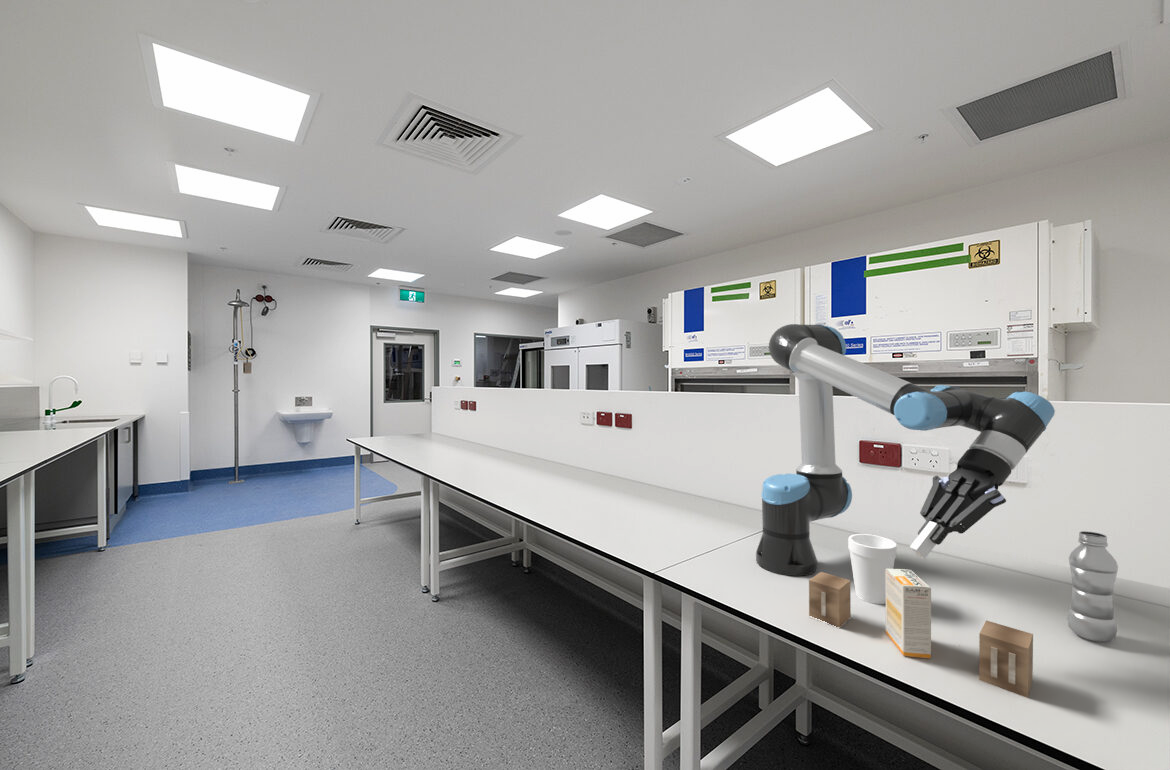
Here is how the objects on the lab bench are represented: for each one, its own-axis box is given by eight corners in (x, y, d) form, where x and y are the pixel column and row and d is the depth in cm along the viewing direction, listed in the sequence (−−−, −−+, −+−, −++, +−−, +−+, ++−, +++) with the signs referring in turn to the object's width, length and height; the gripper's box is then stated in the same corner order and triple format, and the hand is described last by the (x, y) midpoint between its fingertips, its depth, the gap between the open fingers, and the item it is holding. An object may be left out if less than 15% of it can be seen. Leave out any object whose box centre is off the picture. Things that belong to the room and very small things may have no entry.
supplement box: (932, 659, 85) (933, 587, 85) (902, 656, 86) (902, 585, 86) (911, 634, 93) (911, 568, 93) (884, 632, 94) (884, 567, 94)
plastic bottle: (1057, 629, 94) (1058, 529, 93) (1088, 627, 94) (1089, 528, 94) (1094, 648, 87) (1096, 541, 87) (1127, 646, 88) (1129, 539, 87)
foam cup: (880, 611, 102) (880, 551, 102) (839, 593, 110) (839, 538, 110) (905, 600, 106) (905, 543, 106) (864, 584, 115) (864, 531, 114)
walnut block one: (808, 617, 100) (808, 580, 100) (821, 607, 104) (820, 571, 104) (838, 628, 96) (838, 589, 95) (850, 617, 100) (850, 580, 100)
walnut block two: (978, 681, 79) (979, 633, 79) (985, 665, 83) (986, 620, 83) (1027, 699, 75) (1028, 649, 74) (1032, 681, 79) (1033, 634, 79)
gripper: (1038, 480, 86) (962, 580, 83) (967, 465, 99) (899, 552, 96) (1015, 452, 85) (938, 553, 82) (946, 441, 98) (877, 528, 95)
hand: (917, 552), depth 89 cm, fingers closed
